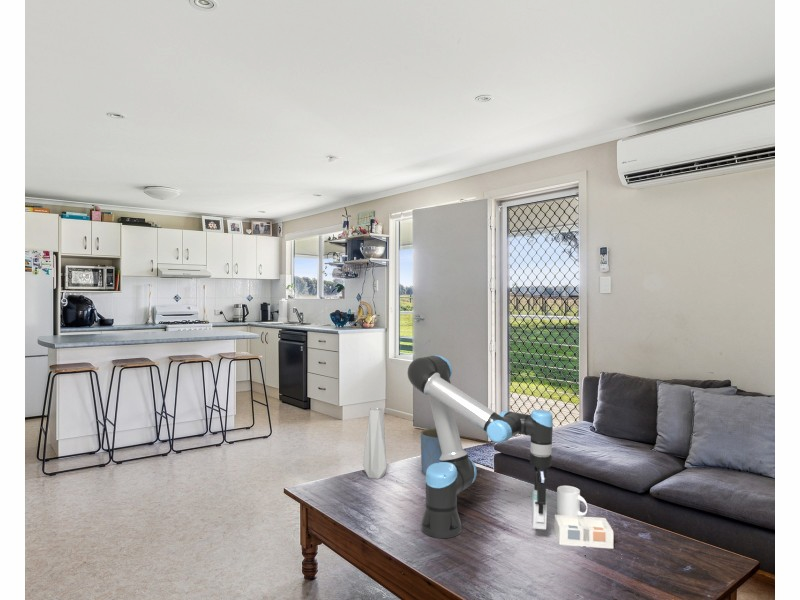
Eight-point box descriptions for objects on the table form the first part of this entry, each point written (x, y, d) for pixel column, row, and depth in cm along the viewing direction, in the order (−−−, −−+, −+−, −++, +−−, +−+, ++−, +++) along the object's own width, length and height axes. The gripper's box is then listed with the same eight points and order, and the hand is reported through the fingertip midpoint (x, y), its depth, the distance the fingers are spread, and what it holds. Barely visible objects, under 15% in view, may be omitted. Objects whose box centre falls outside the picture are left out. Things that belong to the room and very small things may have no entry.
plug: (533, 528, 179) (533, 494, 179) (531, 522, 183) (532, 489, 183) (546, 529, 178) (547, 495, 178) (544, 523, 183) (545, 490, 183)
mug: (582, 525, 192) (582, 497, 192) (553, 516, 200) (553, 489, 200) (591, 518, 198) (591, 491, 198) (563, 510, 206) (563, 483, 206)
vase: (379, 482, 237) (379, 412, 237) (359, 477, 243) (360, 409, 244) (393, 475, 247) (393, 408, 247) (374, 471, 253) (374, 405, 254)
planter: (418, 477, 244) (418, 436, 244) (422, 465, 262) (423, 427, 263) (457, 480, 241) (457, 438, 241) (459, 467, 259) (459, 429, 260)
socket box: (559, 545, 176) (559, 527, 176) (554, 530, 187) (554, 514, 187) (613, 549, 173) (613, 531, 173) (605, 534, 184) (605, 517, 184)
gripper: (555, 462, 171) (553, 530, 171) (548, 447, 189) (546, 509, 189) (533, 460, 172) (531, 528, 173) (527, 446, 190) (525, 507, 190)
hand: (539, 518), depth 181 cm, fingers closed on plug, 4 cm apart
